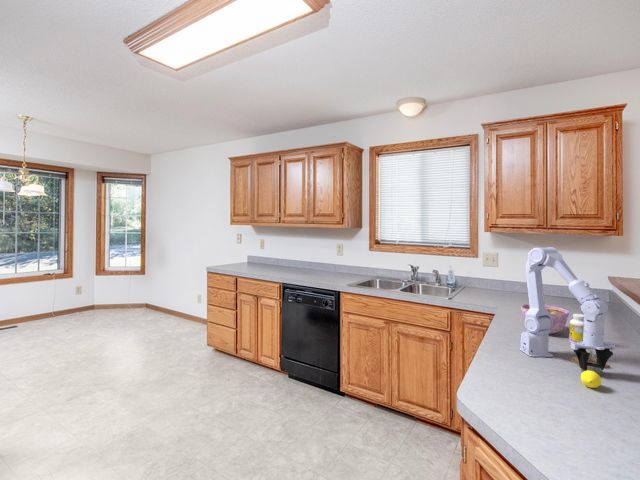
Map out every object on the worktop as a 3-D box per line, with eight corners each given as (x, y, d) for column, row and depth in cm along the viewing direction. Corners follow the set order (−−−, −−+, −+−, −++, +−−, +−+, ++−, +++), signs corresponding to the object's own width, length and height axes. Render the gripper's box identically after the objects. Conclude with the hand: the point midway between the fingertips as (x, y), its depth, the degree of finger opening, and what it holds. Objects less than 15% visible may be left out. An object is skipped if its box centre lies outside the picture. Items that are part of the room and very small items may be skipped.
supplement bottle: (569, 339, 157) (570, 312, 157) (587, 342, 153) (588, 314, 152) (568, 343, 152) (569, 315, 151) (587, 347, 148) (588, 318, 147)
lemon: (580, 382, 116) (581, 366, 116) (601, 387, 113) (602, 371, 113) (579, 387, 111) (580, 370, 111) (600, 392, 107) (601, 375, 108)
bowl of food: (553, 326, 177) (554, 304, 177) (578, 339, 157) (579, 314, 157) (512, 325, 179) (513, 303, 179) (532, 337, 159) (533, 313, 159)
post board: (582, 367, 127) (583, 354, 126) (567, 359, 135) (567, 346, 134) (609, 368, 127) (610, 354, 126) (592, 359, 135) (593, 346, 134)
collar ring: (589, 376, 120) (590, 367, 120) (577, 369, 125) (578, 361, 125) (605, 376, 120) (606, 367, 120) (592, 369, 125) (593, 361, 125)
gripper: (581, 335, 118) (580, 373, 119) (623, 335, 118) (621, 373, 119) (567, 329, 125) (565, 365, 126) (606, 329, 125) (604, 365, 126)
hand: (591, 368), depth 123 cm, fingers closed on collar ring, 6 cm apart
